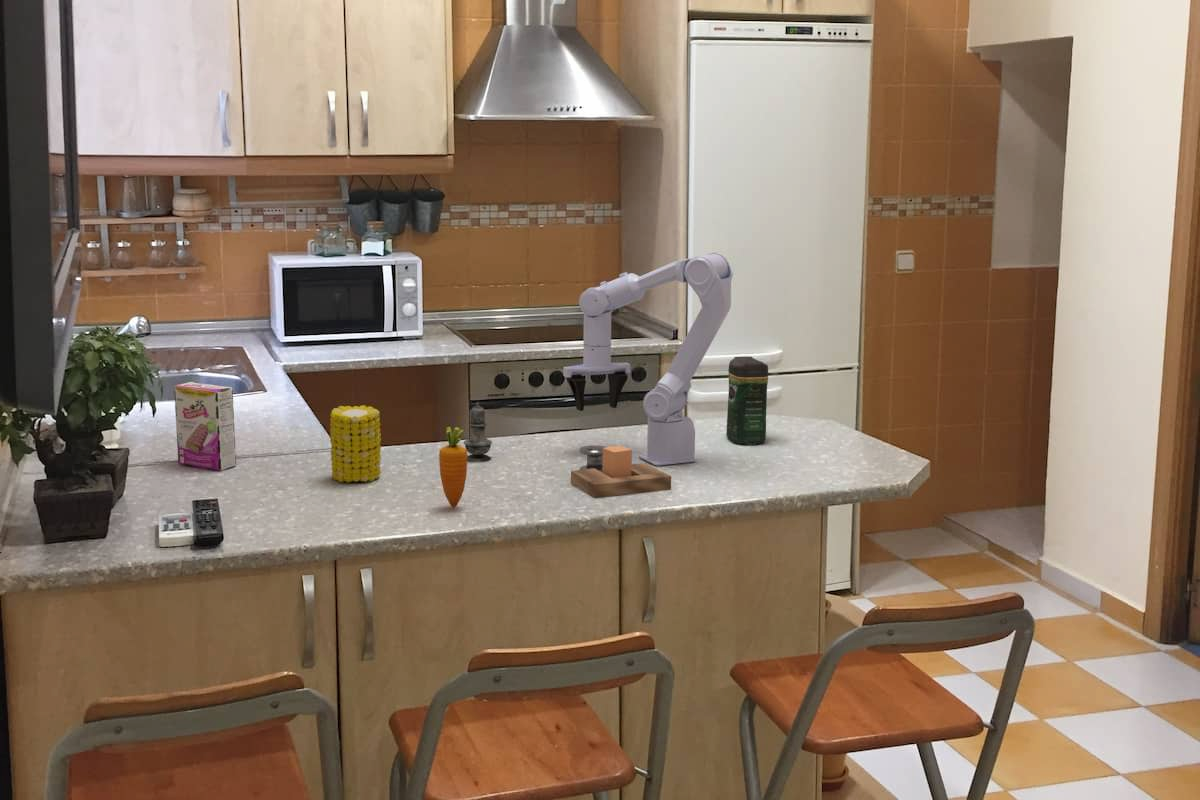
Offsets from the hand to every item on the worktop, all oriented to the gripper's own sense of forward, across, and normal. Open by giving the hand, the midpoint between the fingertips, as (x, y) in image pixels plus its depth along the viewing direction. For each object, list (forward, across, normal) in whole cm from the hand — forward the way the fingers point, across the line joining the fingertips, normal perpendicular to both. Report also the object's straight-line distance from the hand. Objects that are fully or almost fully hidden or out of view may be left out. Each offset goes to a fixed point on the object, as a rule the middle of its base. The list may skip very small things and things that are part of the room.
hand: (596, 408), depth 276 cm
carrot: (+10, +41, +28) cm, 51 cm away
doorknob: (+9, +7, +14) cm, 19 cm away
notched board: (+9, +7, +26) cm, 29 cm away
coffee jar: (+10, -35, +3) cm, 36 cm away
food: (+10, +52, +2) cm, 53 cm away
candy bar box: (+10, +77, -19) cm, 80 cm away
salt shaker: (+10, +25, -4) cm, 27 cm away
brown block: (+9, +7, +25) cm, 27 cm away
